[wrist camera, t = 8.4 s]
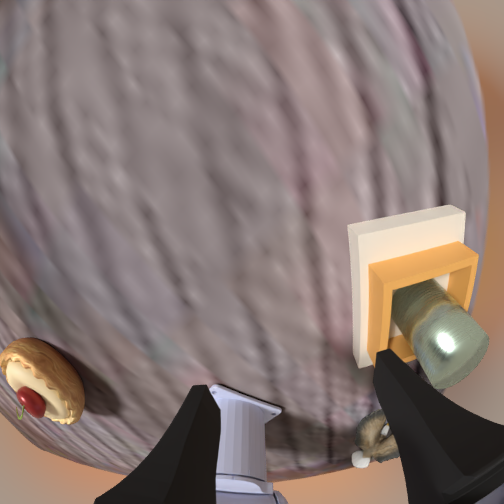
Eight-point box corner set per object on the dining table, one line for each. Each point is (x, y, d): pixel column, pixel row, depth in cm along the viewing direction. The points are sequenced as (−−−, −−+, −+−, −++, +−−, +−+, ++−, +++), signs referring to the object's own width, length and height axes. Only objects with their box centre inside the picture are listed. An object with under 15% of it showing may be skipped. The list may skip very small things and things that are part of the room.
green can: (408, 332, 19) (446, 394, 12) (378, 309, 18) (419, 380, 11) (445, 291, 17) (495, 346, 11) (419, 263, 16) (478, 321, 10)
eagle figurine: (402, 434, 29) (422, 413, 24) (386, 476, 24) (406, 465, 19) (357, 423, 33) (368, 401, 28) (339, 464, 28) (346, 452, 23)
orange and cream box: (435, 325, 21) (458, 355, 17) (352, 352, 22) (367, 390, 18) (449, 204, 17) (487, 223, 13) (347, 224, 17) (373, 252, 13)
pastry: (109, 386, 25) (87, 448, 17) (69, 402, 28) (49, 450, 20) (32, 312, 21) (-11, 368, 13) (7, 345, 24) (-23, 389, 15)
